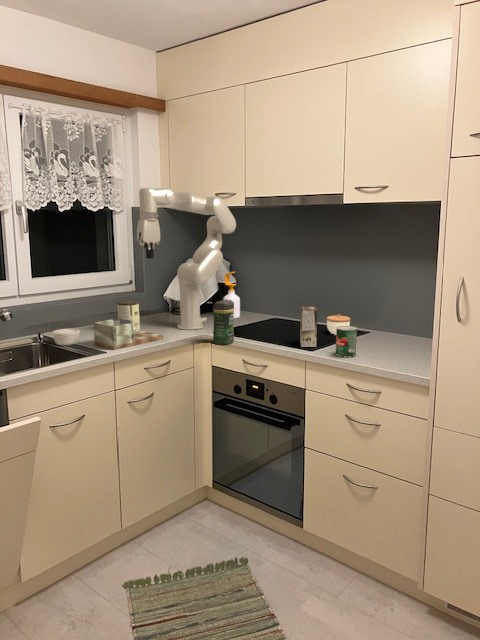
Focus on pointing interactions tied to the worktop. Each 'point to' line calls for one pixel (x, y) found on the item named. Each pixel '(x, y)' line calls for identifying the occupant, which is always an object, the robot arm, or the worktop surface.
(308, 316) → the coffee box
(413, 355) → the worktop surface
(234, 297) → the soap bottle
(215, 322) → the coffee jar
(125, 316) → the coffee can
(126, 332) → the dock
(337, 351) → the canned tomato
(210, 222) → the robot arm
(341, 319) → the lidded jar
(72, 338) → the ramekin
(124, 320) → the trolley
